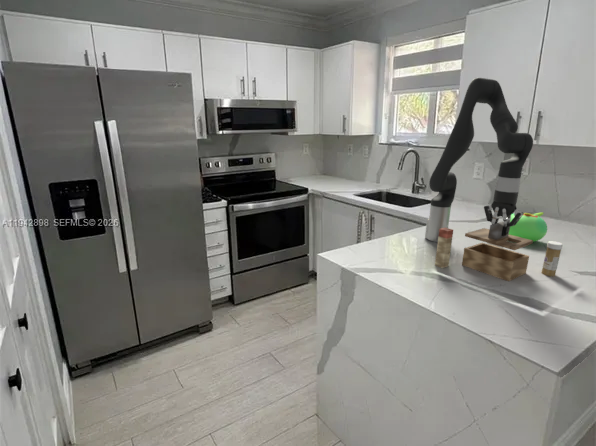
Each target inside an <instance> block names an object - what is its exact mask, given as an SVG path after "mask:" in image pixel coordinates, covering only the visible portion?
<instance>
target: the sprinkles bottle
mask: <svg viewBox="0 0 596 446" xmlns="http://www.w3.org/2000/svg"><path fill="white" fill-rule="evenodd" d="M562 249H563V243H562V242H559V241H555V240H549V241H547V244H546V251H545V256H544V258H543V259H544V260H543V264H542V269H541V274H542V275H544V276H546V277H555V276H556V273H557V269H558V265H559V261H560V256H561V251H562Z"/></svg>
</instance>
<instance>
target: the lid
mask: <svg viewBox="0 0 596 446" xmlns="http://www.w3.org/2000/svg"><path fill="white" fill-rule="evenodd" d="M503 227H504V221H500V222H499V221H498V223H496V224H492V223H491V224H490V225H489V228H485V227H483V228H479V229H476V230H473V231H469V232H465V233H464V236H465V237H466V238H470V239H473V240H477V241H479V242H480V241H481V242H482V243H486V244H487V243H490V244H494V245H497V246H501V247H504V248H503V249H507V250H510V251H517V250H519V249H522V248H525V247H528V246H529V245H533V244H534V243H533V240H529V239H525V238H521V237H517V236H513V235H509V230H510V227H509V230H508V234H507V235H506V236H501V235H502V230H503Z"/></svg>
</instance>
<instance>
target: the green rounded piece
mask: <svg viewBox="0 0 596 446" xmlns="http://www.w3.org/2000/svg"><path fill="white" fill-rule="evenodd" d="M523 213H524V214H523V216H522V217H521V218H520V219H519V221H518V222H517V223H516V225H514V226H510V230H509V235H513V236H517V237H521V238H525V239H529V240H533V242H537V241H540V240H542V239H543V238H544V237H545V236H546V234H547V233H548V225H547V223H546V221H545V220H544V219H543V218H542V216H543V215H544V214H545V213H544V212H536V213H529V212H523ZM514 214H515V213H513V214H512V215H511V220H510V222H511V221H512V219H513V218H514V217H515V216H514Z"/></svg>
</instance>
